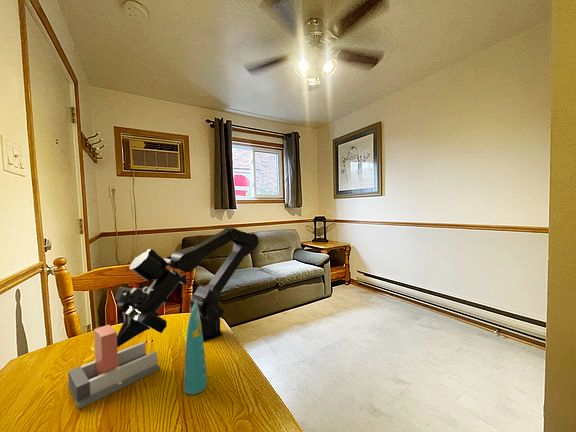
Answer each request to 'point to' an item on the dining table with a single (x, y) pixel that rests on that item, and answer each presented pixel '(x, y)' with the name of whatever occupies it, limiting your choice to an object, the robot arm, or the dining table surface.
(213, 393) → the dining table surface
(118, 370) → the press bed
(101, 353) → the plug
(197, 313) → the tube
